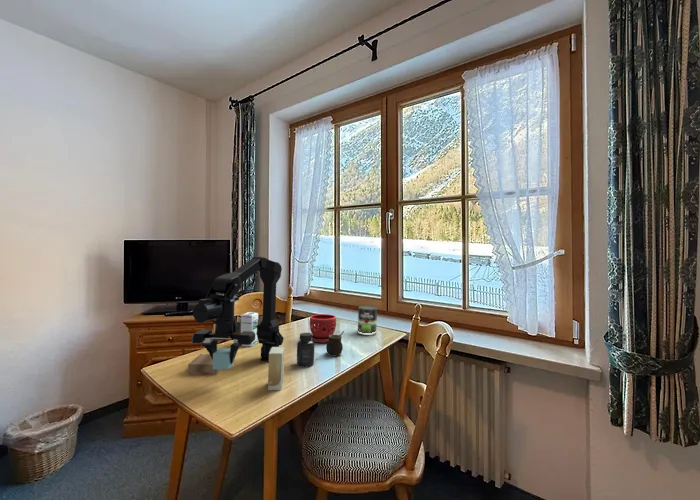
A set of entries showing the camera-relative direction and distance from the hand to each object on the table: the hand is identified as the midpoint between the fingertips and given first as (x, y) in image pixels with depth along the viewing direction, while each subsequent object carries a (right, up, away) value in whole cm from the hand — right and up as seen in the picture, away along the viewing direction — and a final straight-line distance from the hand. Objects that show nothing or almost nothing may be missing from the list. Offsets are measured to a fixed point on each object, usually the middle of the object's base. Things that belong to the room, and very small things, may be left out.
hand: (223, 363), depth 100 cm
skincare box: (+17, -8, +1) cm, 19 cm away
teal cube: (0, -1, 0) cm, 1 cm away
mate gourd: (+35, -8, +32) cm, 48 cm away
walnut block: (-11, -7, +13) cm, 19 cm away
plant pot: (+28, -8, +51) cm, 59 cm away
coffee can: (+51, -8, +65) cm, 83 cm away
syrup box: (-5, -7, +41) cm, 42 cm away
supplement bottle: (+24, -8, +20) cm, 32 cm away
